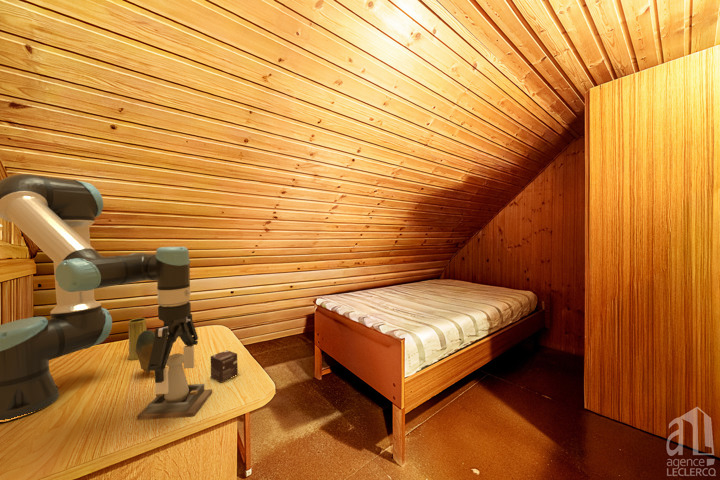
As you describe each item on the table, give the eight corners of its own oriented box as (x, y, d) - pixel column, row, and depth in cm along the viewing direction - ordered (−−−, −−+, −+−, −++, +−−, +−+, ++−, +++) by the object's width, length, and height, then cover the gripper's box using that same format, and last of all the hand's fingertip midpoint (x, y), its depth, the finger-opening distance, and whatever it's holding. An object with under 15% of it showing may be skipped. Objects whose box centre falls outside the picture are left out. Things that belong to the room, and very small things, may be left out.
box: (221, 383, 91) (220, 360, 91) (210, 378, 95) (209, 356, 94) (238, 375, 97) (237, 353, 96) (227, 370, 100) (226, 349, 99)
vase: (151, 355, 112) (150, 319, 112) (132, 361, 107) (131, 323, 107) (144, 351, 115) (143, 316, 115) (125, 357, 110) (124, 320, 110)
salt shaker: (194, 396, 82) (192, 351, 82) (177, 409, 77) (175, 361, 76) (176, 394, 83) (175, 350, 83) (159, 406, 78) (157, 359, 77)
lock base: (137, 419, 74) (136, 405, 74) (162, 395, 85) (162, 383, 85) (194, 416, 75) (193, 402, 75) (212, 392, 86) (211, 380, 86)
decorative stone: (130, 375, 97) (129, 331, 96) (150, 367, 102) (149, 325, 102) (147, 381, 93) (146, 335, 92) (167, 373, 98) (166, 329, 98)
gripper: (161, 316, 67) (164, 405, 68) (208, 292, 92) (210, 358, 93) (127, 317, 66) (130, 407, 67) (184, 293, 91) (185, 359, 92)
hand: (176, 379), depth 80 cm, fingers open, 13 cm apart
